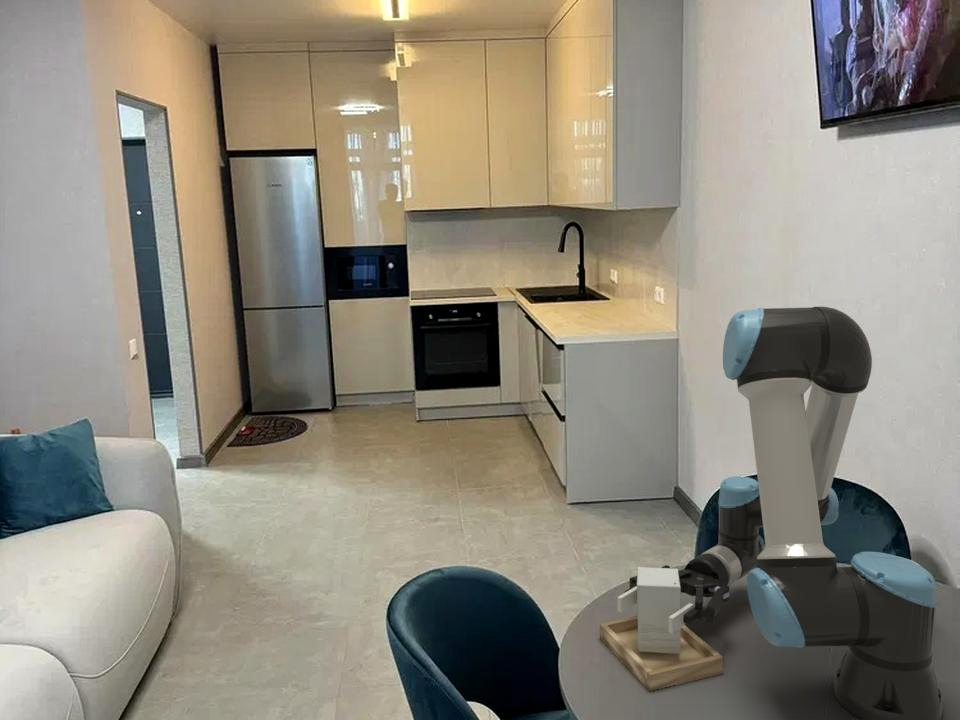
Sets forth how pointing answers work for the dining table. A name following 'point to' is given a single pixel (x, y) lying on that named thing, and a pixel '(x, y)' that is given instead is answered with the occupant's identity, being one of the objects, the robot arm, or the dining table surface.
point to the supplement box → (658, 609)
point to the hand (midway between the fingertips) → (644, 614)
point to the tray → (661, 656)
